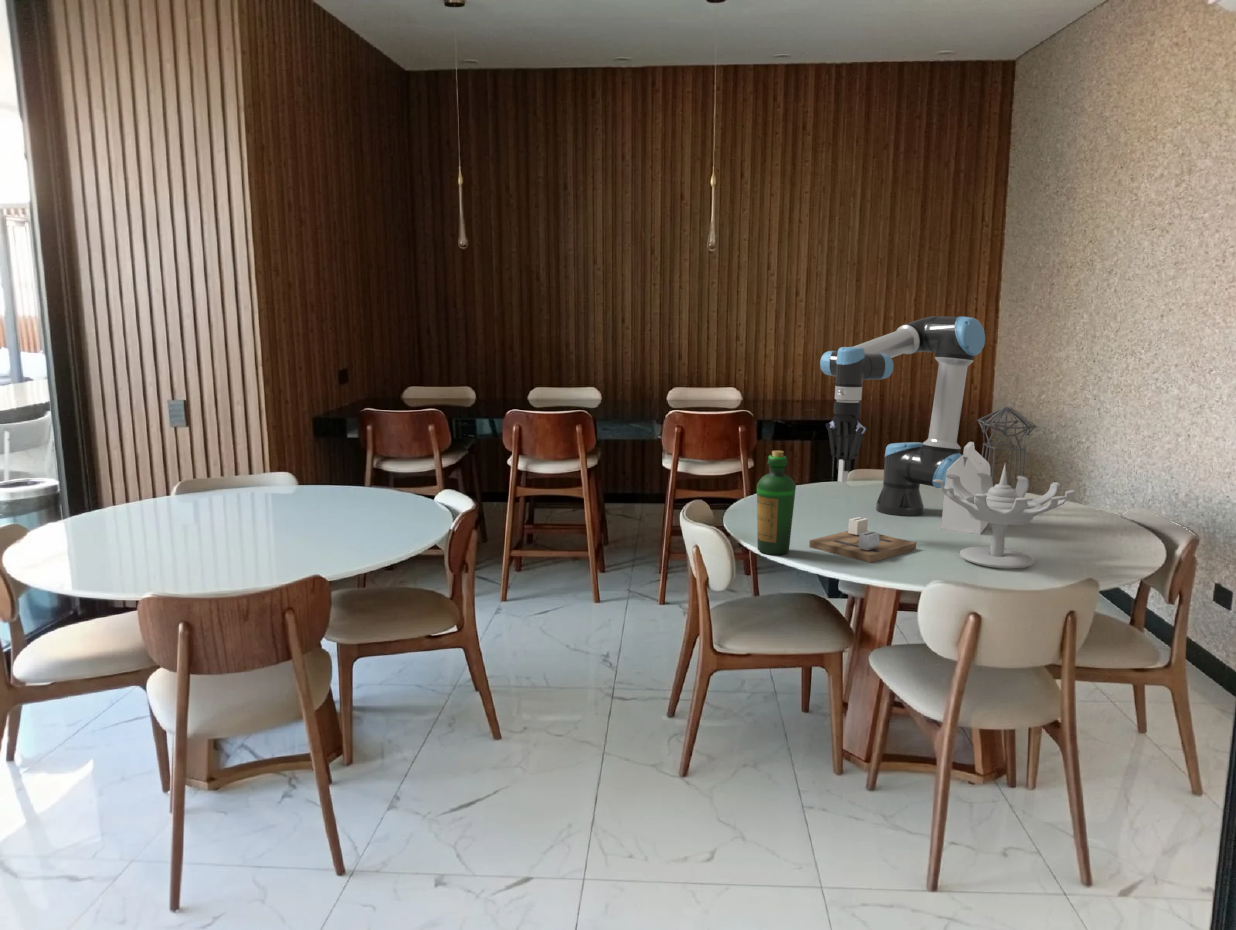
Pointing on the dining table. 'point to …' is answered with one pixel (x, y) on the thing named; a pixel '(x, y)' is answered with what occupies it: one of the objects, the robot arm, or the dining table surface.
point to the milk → (967, 471)
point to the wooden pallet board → (850, 548)
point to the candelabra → (1001, 515)
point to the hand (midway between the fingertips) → (842, 481)
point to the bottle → (775, 507)
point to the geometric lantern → (1001, 412)
